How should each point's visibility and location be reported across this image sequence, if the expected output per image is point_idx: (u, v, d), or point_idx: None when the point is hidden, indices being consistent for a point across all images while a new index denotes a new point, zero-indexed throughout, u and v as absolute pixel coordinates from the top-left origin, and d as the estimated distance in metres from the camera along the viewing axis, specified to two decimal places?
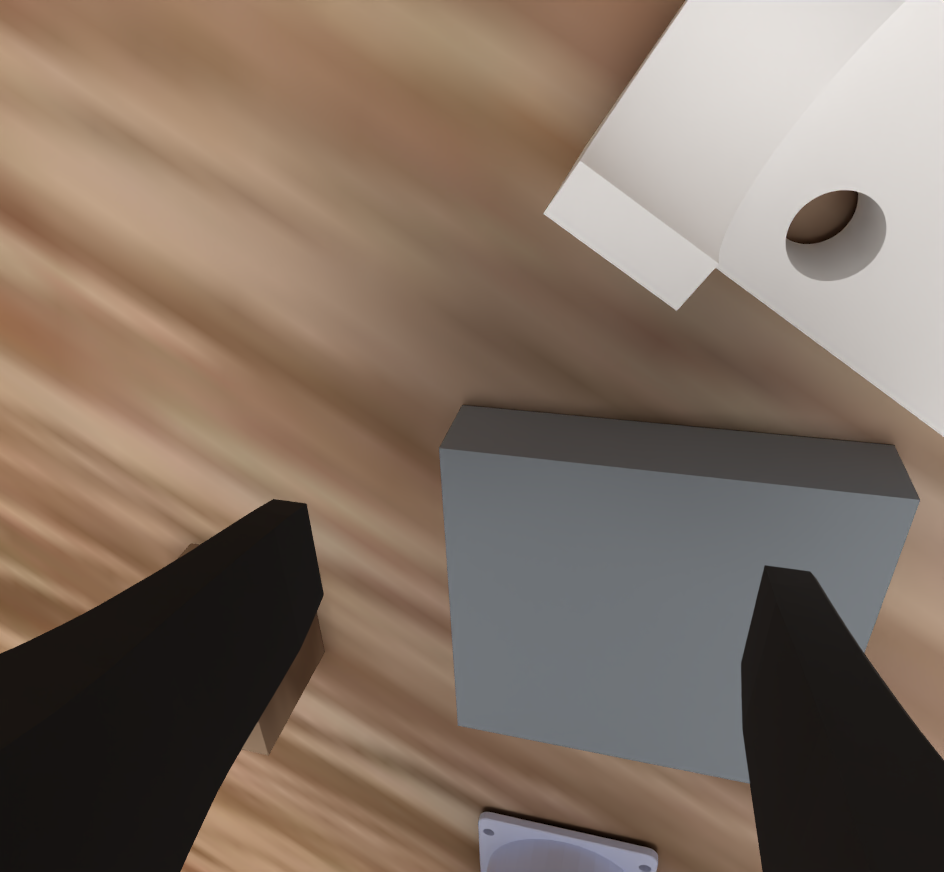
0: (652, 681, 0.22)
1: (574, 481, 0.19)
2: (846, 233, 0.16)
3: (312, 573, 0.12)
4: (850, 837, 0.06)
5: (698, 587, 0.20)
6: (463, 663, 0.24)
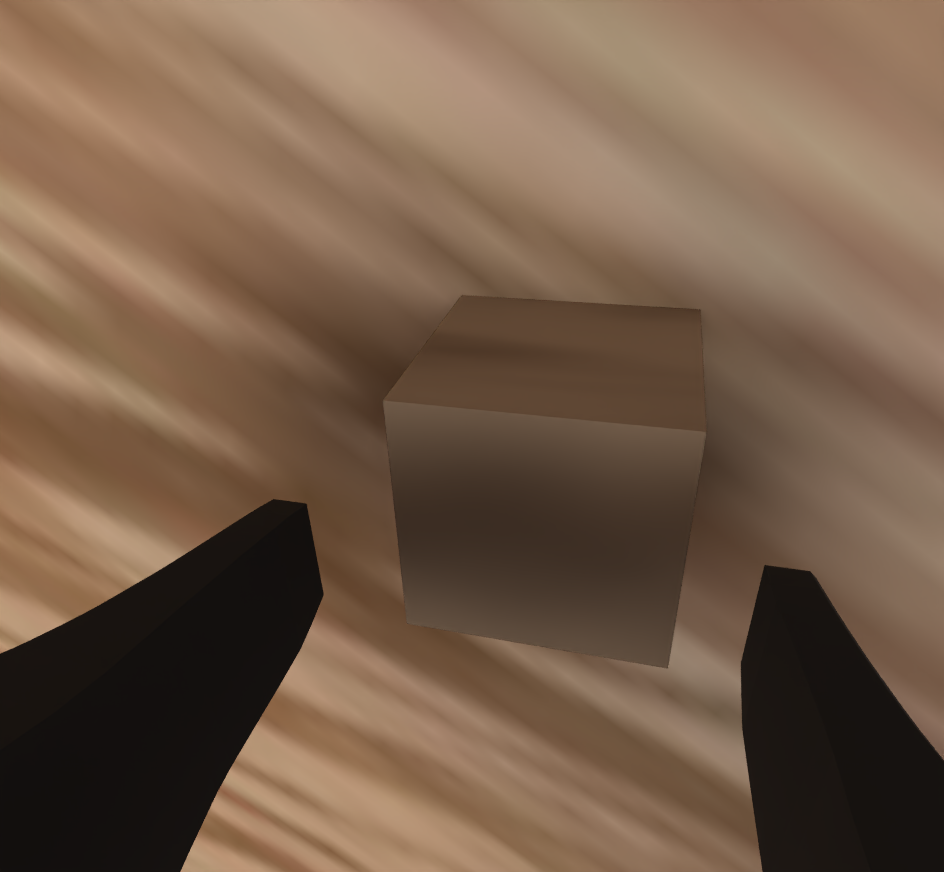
0: None
1: None
2: None
3: (312, 573, 0.12)
4: (849, 836, 0.06)
5: None
6: None
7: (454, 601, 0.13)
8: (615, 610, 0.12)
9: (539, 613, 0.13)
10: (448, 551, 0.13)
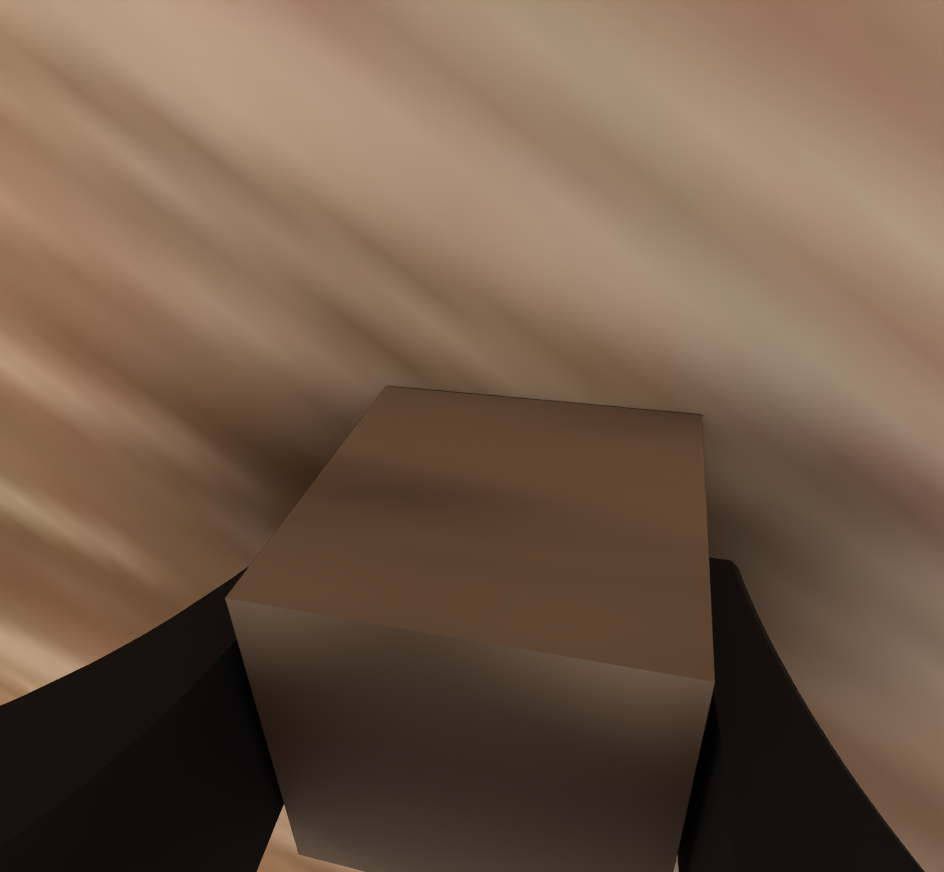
0: None
1: None
2: None
3: None
4: (724, 810, 0.06)
5: None
6: None
7: (358, 838, 0.10)
8: None
9: (475, 865, 0.09)
10: (343, 783, 0.09)
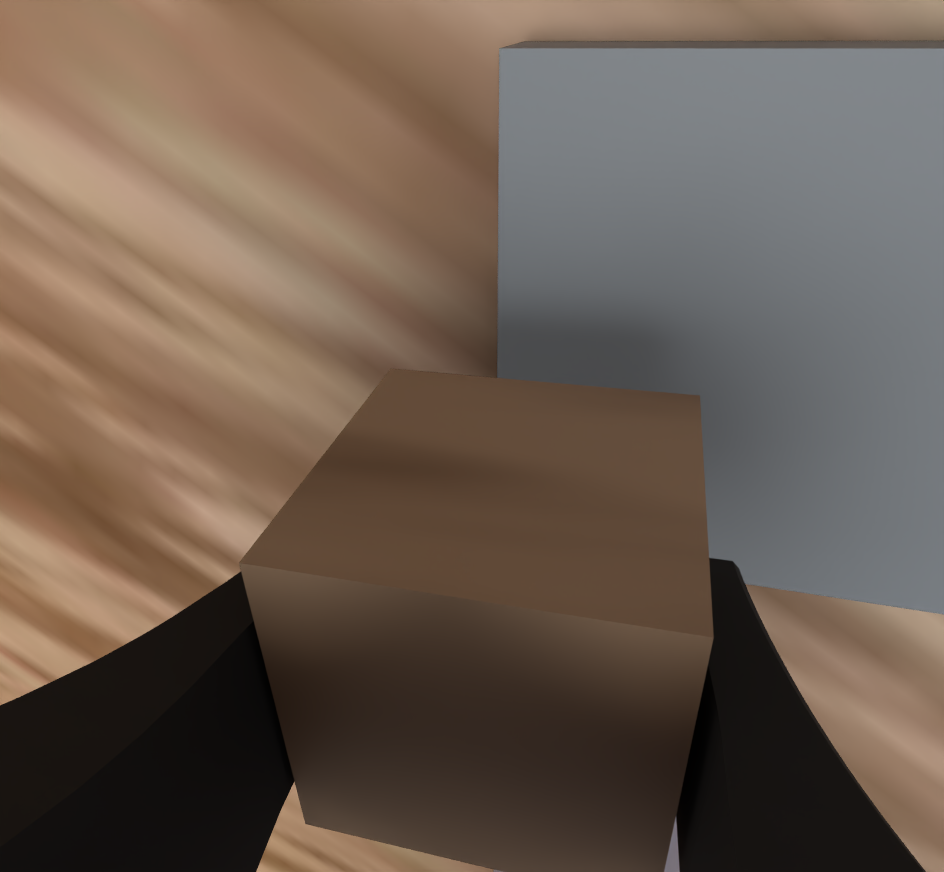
0: (780, 447, 0.16)
1: (704, 87, 0.13)
2: None
3: None
4: (724, 810, 0.06)
5: (875, 269, 0.14)
6: None
7: (364, 806, 0.10)
8: (581, 838, 0.09)
9: (478, 831, 0.09)
10: (350, 750, 0.09)
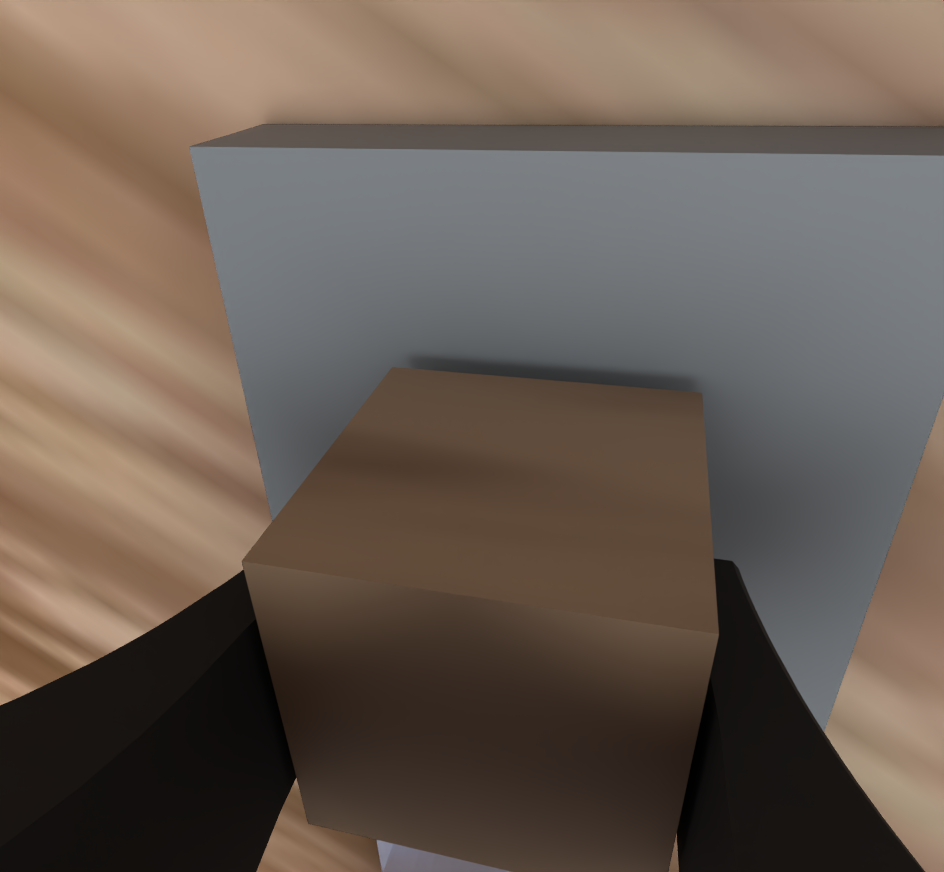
0: None
1: (411, 190, 0.11)
2: None
3: None
4: (724, 810, 0.06)
5: None
6: None
7: (367, 805, 0.10)
8: (586, 836, 0.09)
9: (482, 830, 0.09)
10: (353, 749, 0.09)
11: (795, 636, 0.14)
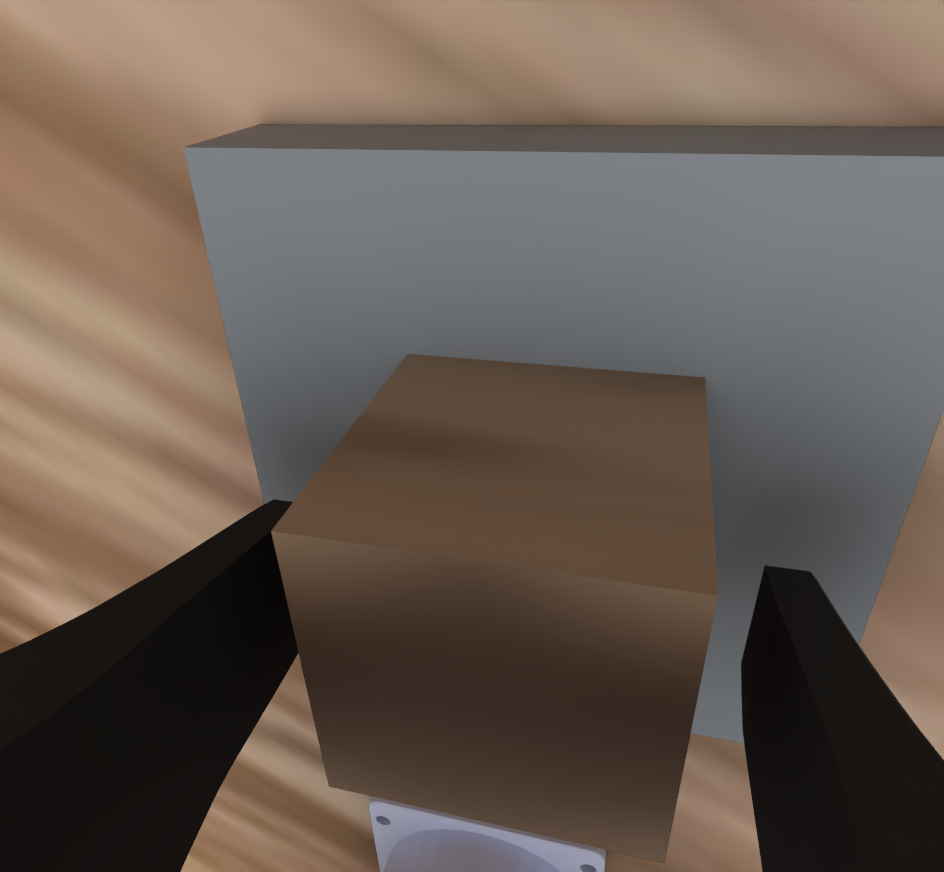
0: None
1: (407, 192, 0.11)
2: None
3: None
4: (849, 836, 0.06)
5: None
6: None
7: (386, 767, 0.10)
8: (592, 794, 0.09)
9: (495, 790, 0.10)
10: (374, 712, 0.10)
11: None
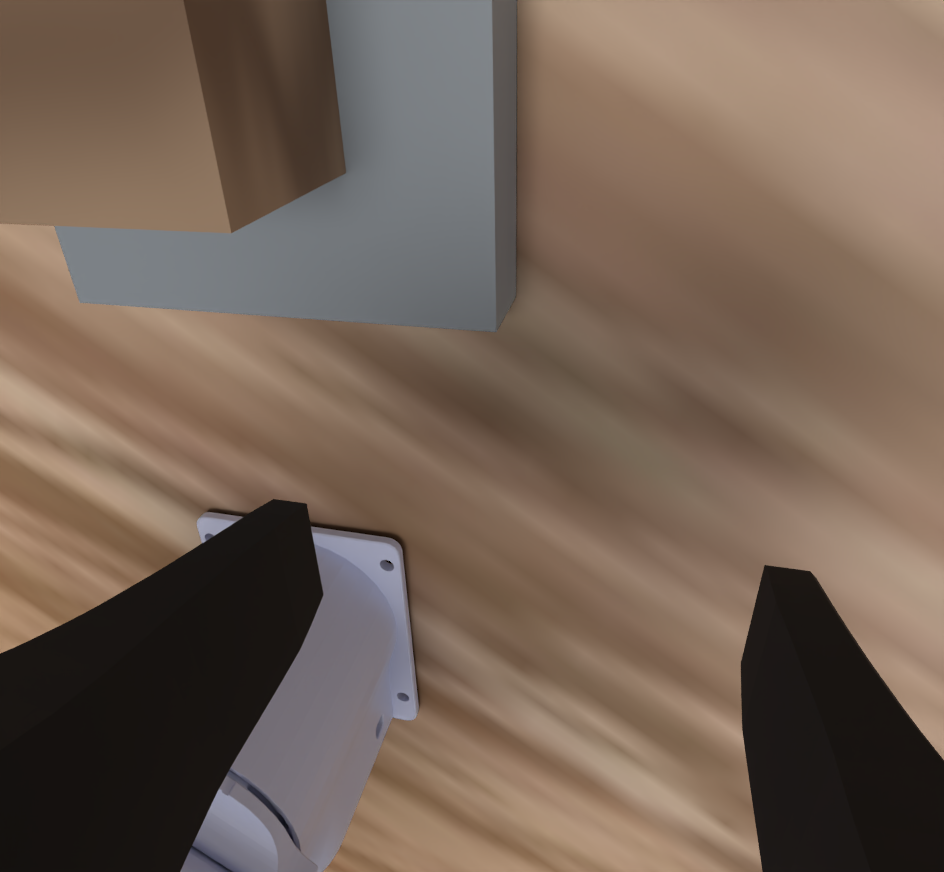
0: None
1: None
2: None
3: (312, 573, 0.12)
4: (850, 836, 0.06)
5: None
6: None
7: (20, 179, 0.13)
8: (159, 156, 0.12)
9: (97, 178, 0.12)
10: None
11: (448, 195, 0.16)
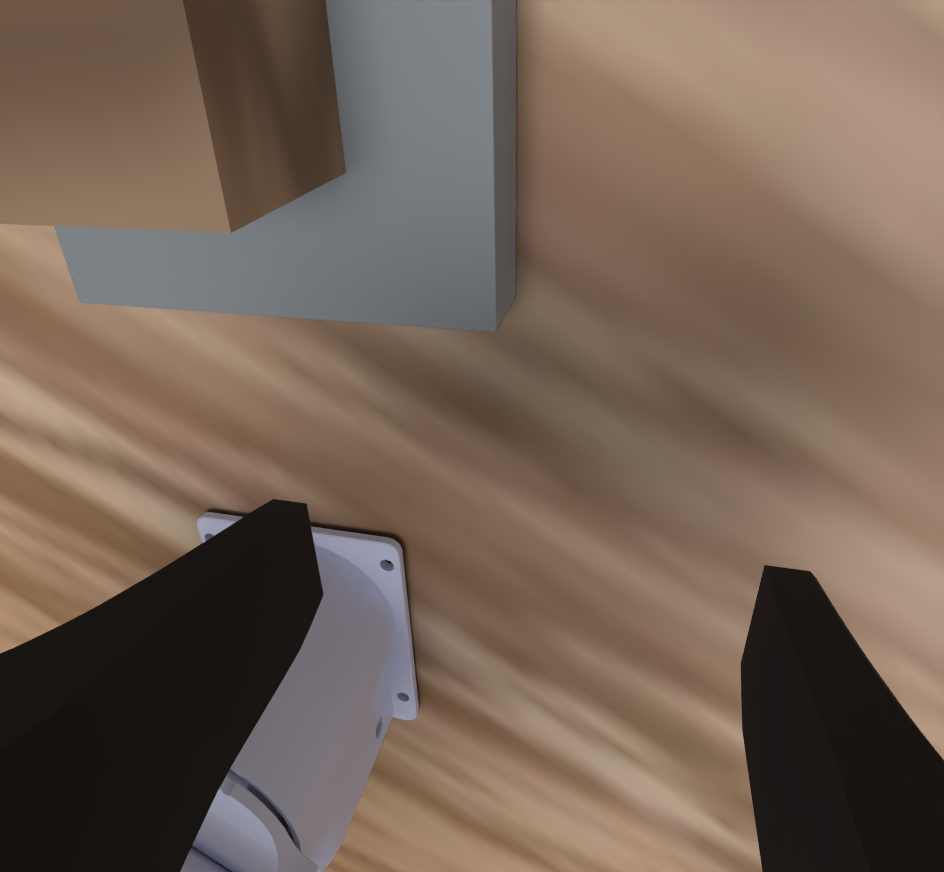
0: None
1: None
2: None
3: (312, 573, 0.12)
4: (850, 836, 0.06)
5: None
6: None
7: (19, 178, 0.13)
8: (159, 156, 0.12)
9: (96, 178, 0.12)
10: None
11: (448, 194, 0.16)
